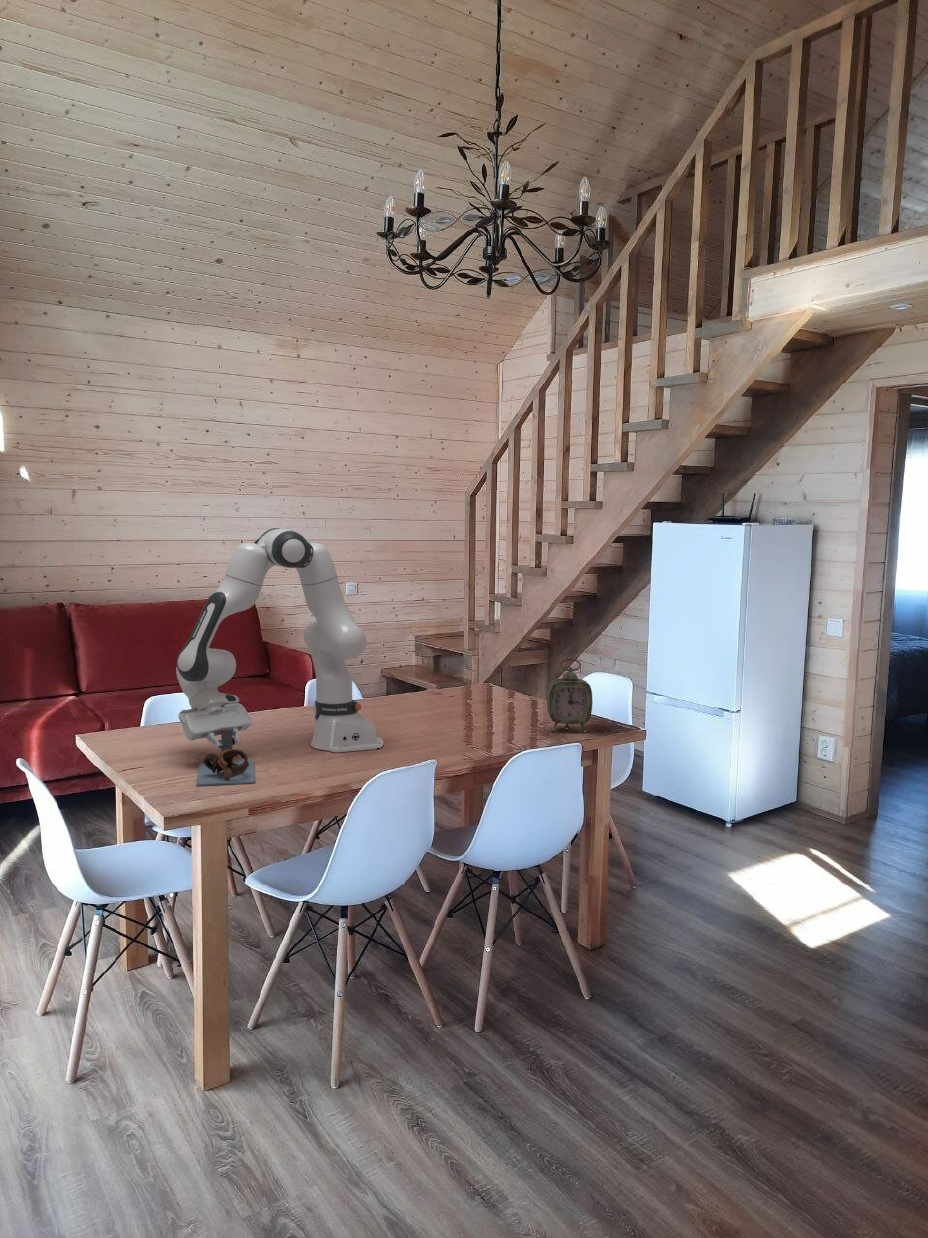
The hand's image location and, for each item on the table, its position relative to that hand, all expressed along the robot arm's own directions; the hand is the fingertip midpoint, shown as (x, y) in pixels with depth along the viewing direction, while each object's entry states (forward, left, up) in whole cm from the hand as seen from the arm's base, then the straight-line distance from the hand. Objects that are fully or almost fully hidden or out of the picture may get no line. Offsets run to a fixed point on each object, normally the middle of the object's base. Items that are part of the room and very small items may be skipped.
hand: (228, 745), depth 254 cm
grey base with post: (0, +8, -6) cm, 10 cm away
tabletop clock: (-112, -25, -6) cm, 115 cm away
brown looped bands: (0, +12, -5) cm, 14 cm away
